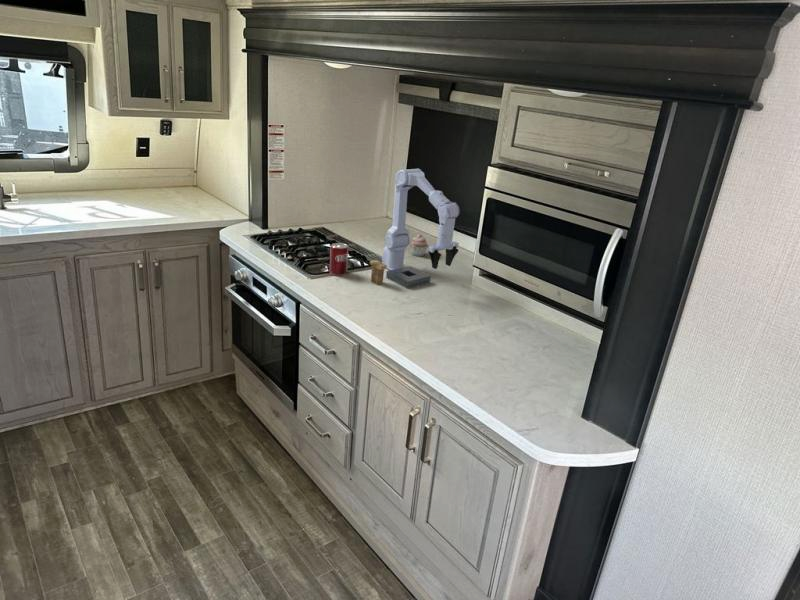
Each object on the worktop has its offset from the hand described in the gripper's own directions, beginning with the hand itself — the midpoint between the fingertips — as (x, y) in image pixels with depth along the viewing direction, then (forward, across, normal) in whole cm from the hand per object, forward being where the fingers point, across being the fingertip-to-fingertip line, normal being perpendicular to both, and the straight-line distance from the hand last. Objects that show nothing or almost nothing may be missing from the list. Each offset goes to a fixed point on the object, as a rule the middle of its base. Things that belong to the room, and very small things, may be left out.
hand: (441, 266), depth 224 cm
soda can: (+10, -26, +34) cm, 44 cm away
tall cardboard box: (+10, -18, +18) cm, 27 cm away
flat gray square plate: (+10, -4, +14) cm, 18 cm away
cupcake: (+10, +22, +37) cm, 44 cm away
